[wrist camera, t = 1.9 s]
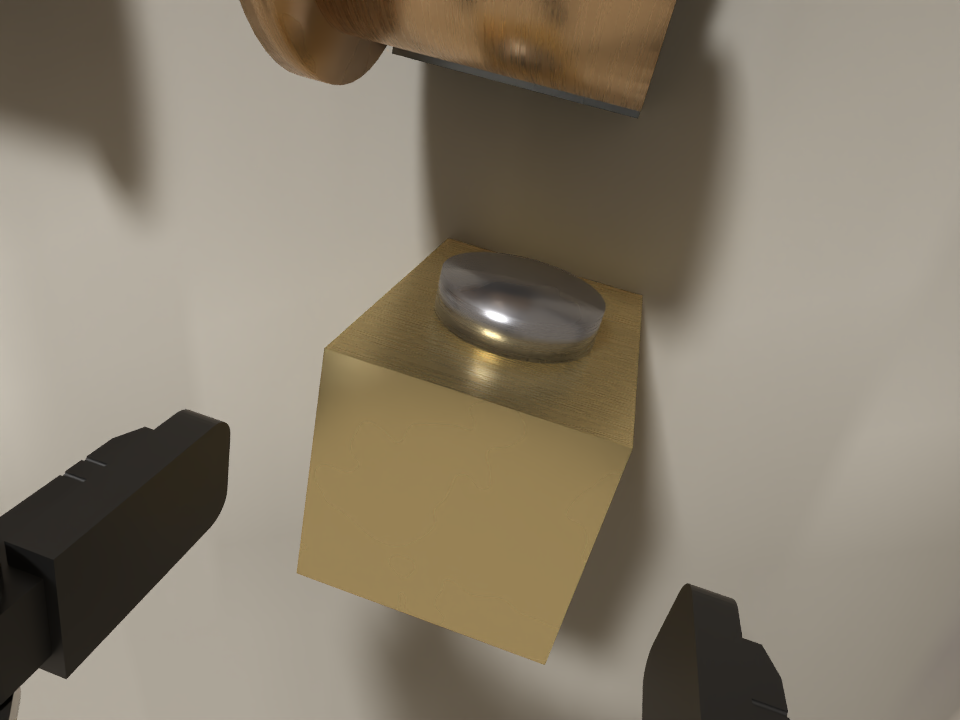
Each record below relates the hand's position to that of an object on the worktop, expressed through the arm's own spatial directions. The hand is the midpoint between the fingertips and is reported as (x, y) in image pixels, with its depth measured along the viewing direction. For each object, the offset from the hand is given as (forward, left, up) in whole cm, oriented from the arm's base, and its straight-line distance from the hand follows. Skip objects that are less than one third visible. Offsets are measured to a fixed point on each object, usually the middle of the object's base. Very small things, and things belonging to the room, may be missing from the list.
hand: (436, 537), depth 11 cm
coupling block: (0, 0, -7) cm, 7 cm away
